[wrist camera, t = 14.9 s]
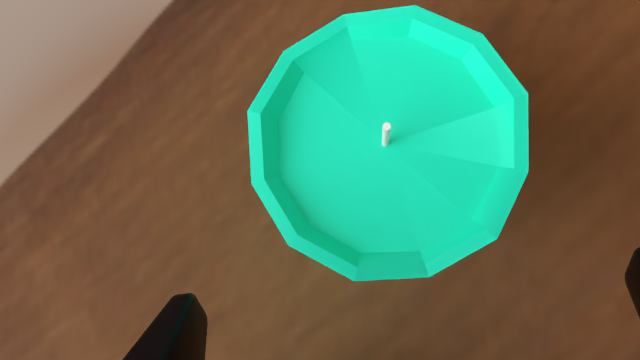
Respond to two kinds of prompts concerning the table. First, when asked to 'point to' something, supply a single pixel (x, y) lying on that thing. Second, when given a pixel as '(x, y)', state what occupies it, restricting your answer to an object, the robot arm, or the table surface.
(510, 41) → the table surface
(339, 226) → the candle
